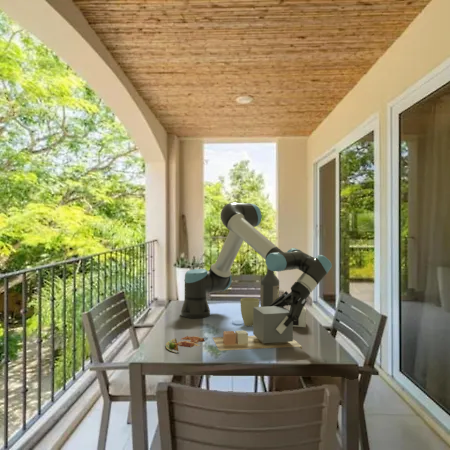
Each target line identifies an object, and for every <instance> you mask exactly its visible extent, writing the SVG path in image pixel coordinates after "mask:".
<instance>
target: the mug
mask: <svg viewBox="0 0 450 450" xmlns="http://www.w3.org/2000/svg"><path fill="white" fill-rule="evenodd" d="M239 302H240V312H241V313H240V314H241V317H242V321H243V325H244V326H246V327H253V308H254V307H260V299H259V298H256V297H243V298H240V301H239Z"/></svg>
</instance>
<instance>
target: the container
mask: <svg viewBox="0 0 450 450" xmlns="http://www.w3.org/2000/svg"><path fill="white" fill-rule="evenodd" d="M288 310H289V311H290V307H289V309H288ZM306 315H307V308H306V304H305V305H304V307H303V309H302V311H301V314H300V316H299V319H298V320H297V321H295V320H294V321H293V328H294V327H295V328H296V327H297V328H307V327H306V325H307V316H306ZM295 316H296V315H295Z"/></svg>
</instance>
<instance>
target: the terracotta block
mask: <svg viewBox="0 0 450 450" xmlns="http://www.w3.org/2000/svg"><path fill="white" fill-rule="evenodd" d="M222 337H223V342H224V344H225V345H232V344H235V342H236V334H235V331H233V330H228V331H226V330H225V331H224V330H223V335H222Z"/></svg>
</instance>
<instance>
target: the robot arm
mask: <svg viewBox="0 0 450 450" xmlns="http://www.w3.org/2000/svg"><path fill="white" fill-rule="evenodd" d="M262 217H263V216H262V212H261V209H260V207H259V206H258V204H257V205H256V204H255V203H250V202H247V203H246V202H245V203H244V202H229V203H226V205H224V206H223V207H222V209H221V211H220V220H221V222H222V224H223V226H224V227H225V228H226V229H227V230H228V233H227V236H226V238H225V241H224V242H223V245H222V248H221V250H220V252H219V254H218V257H217V259H216V260H215V263H212V264H211V265H210V267H209V270H207V269H206V268H194V269H190V270H188V271H186V272H185V273H184V301H183V304H182V307H181V309H180V316H181V317H183V318H189V319H201V318H202V319H203V318H207V317H209V316H210V315H211V309H210V306H209V303H208V300H207V299H208V294H211V293H218V292H220V293H221V292H224V291H226V290H228V289H229V288H230V286H231V285H232V280H233V279H232V272H231V269H232V266H233V263H234V262H235V260H236V258H237V256H238V253H239V251H240V248H241V247H242V244H243V243H244V242H245V243H246V244H247V245H248V246H249V247H251V248H252V249H253V250H254V252H256V253H257V254H259V256H261V258H263V259H264V260H265V265H266V267H267V268H268V269H269V270H271V271H273V272H284V271H291V270H299V271H300V272H302V273H301V275H300V276H299V277H298V278H297V279H296V281H295V282H294V283H293V284H292V285H291V286H290V290H291V291H290V292H288V291H287V290H286V291H284V292H283V294H281V295H279V298H277V299H276V300H275V301H274V302H272V303H271V304H270V305H269V306H282V307H284V308H285V307H286V306H287V307H288V306H289V308H290V311H289V314H288V315H287V316H288V317H289V318H288V317H287V316H286V317H285V318H284V320H283V321H282V322H281V323H280V324H279V326H278V327H277V328H276V330H277V331H278V332H279V333H280V334H282V332H283V331H284V330H285V329H286V327H287V326H288V325H289V324H290V323H291V322H292V321H294V320H295V321H297V320H298V319H299V316H300V314H301V311H302V309H303V307H304V305H305V306H306V303H307V299H308V298H309V296H310V295H311V293H312V292H313V291H314V290H315V288H316V287H318V285H319V283H320V282H321V281H322V280H323V279H324V277H326V275H328V273H329V272H330V270H331V269H332V267H333V264H332V262H331V261H330V259H329V258H327V256H325V255H323V254H319V255H317V256H316V257H314V256H311V255H309V253H305V252H304V251H302V250H300V249H298V248H295V247H292V248H290V249H288V250H287V251H284V250H281V248H279V247H278V246H277V245H275V244H274V243H273V242H272V241H271V240H270V239H269V238H267V237H266V236H265V235H264V234H262V233H261V232H260V231H259V230H258V229H257V228H256V227H258V226H259V225H260V224H261V222H262V219H263V218H262ZM295 315H296V316H295Z"/></svg>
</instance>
